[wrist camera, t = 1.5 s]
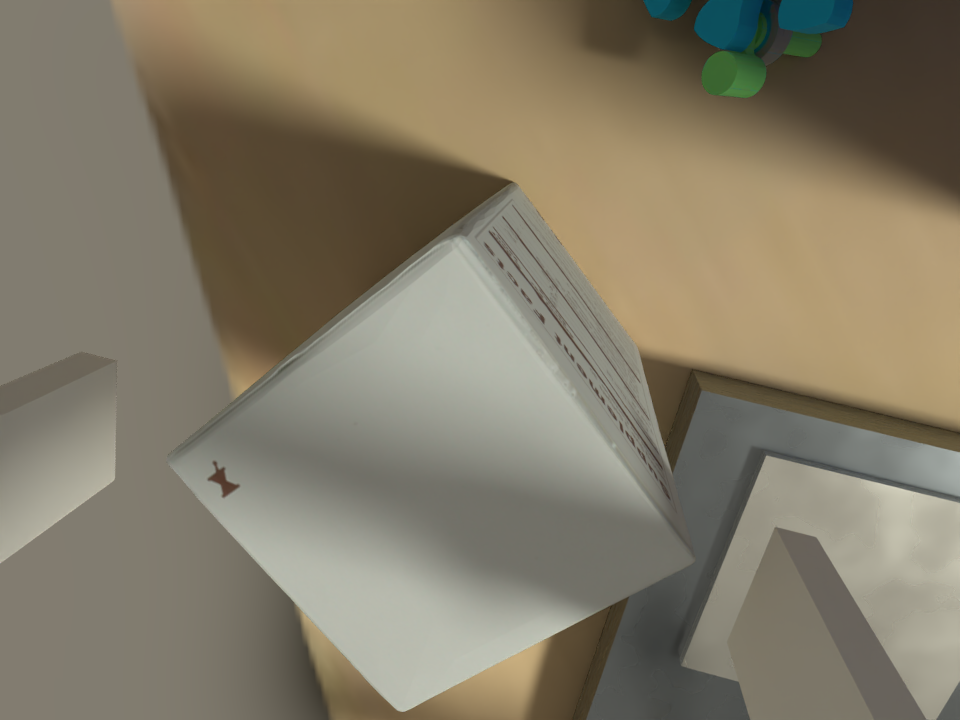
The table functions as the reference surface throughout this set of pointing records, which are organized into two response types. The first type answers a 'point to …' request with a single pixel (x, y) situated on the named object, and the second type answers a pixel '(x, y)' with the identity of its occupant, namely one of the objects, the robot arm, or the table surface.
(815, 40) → the gear
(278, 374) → the supplement box
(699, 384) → the plate
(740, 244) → the table surface
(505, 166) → the table surface
